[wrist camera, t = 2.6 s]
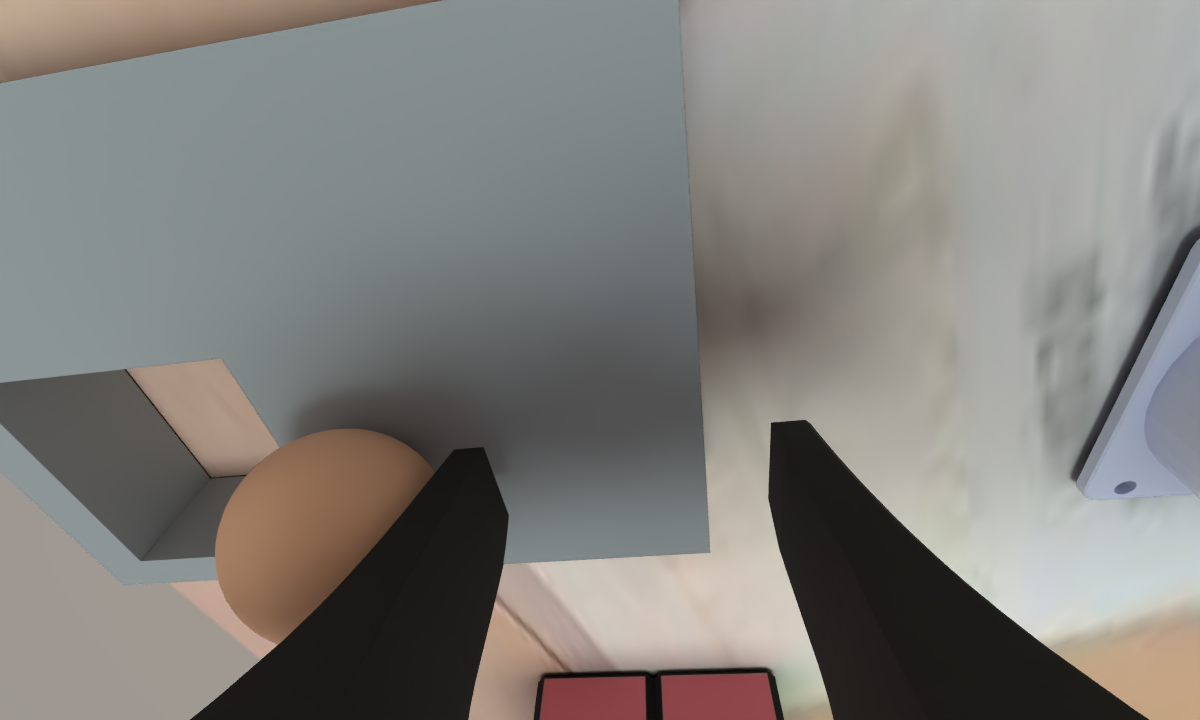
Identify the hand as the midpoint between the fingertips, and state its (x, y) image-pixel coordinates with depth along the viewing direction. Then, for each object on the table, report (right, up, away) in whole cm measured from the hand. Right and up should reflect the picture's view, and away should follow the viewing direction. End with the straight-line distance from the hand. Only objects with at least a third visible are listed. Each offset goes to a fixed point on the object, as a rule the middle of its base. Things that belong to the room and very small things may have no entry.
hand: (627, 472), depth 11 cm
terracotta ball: (-5, -1, 0) cm, 6 cm away
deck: (-7, +3, +3) cm, 8 cm away
